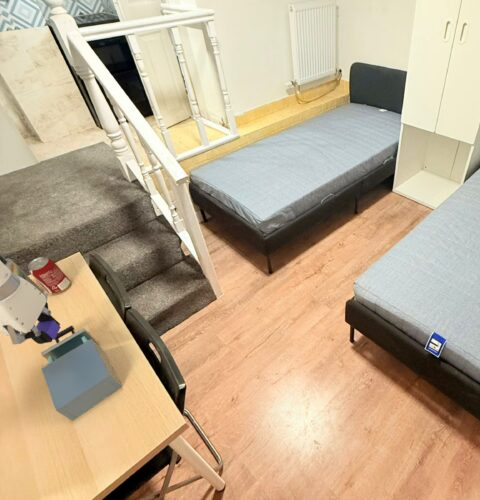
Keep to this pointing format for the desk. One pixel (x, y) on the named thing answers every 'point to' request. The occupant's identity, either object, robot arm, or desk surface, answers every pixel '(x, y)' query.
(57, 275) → the soda can
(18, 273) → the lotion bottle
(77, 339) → the drawer
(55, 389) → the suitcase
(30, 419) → the desk surface
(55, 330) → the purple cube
